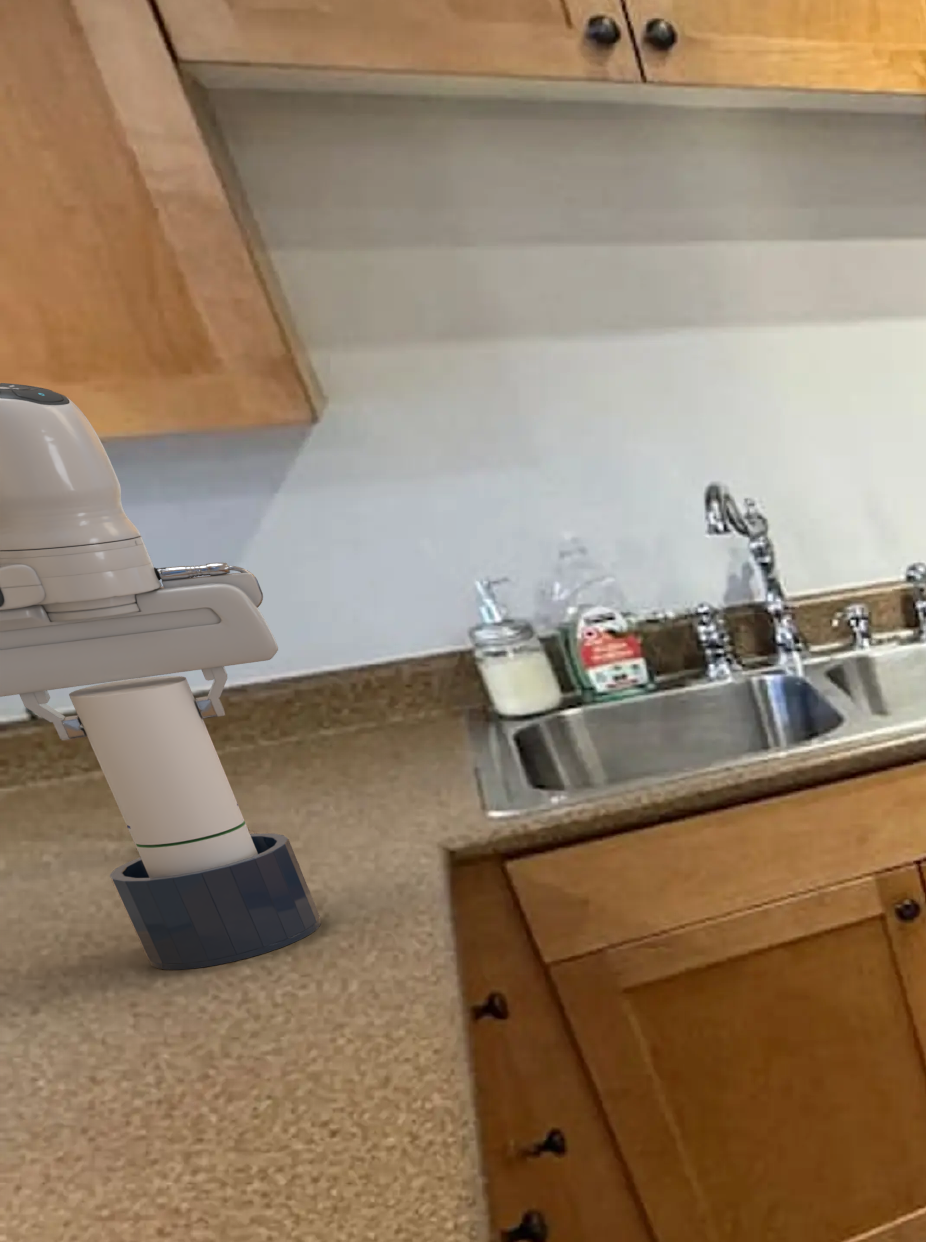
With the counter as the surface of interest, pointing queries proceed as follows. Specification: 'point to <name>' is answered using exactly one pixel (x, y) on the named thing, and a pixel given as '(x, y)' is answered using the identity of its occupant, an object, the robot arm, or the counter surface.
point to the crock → (219, 908)
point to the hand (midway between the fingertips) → (146, 726)
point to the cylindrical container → (164, 774)
